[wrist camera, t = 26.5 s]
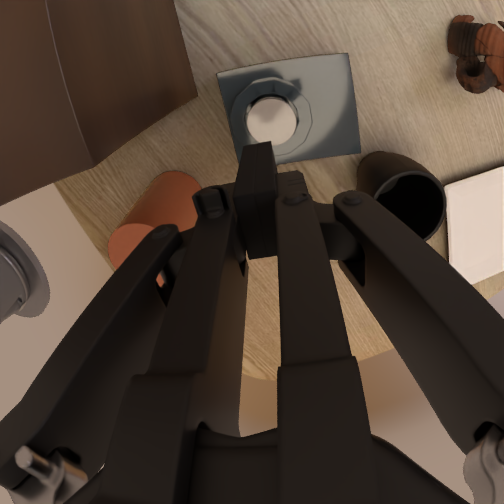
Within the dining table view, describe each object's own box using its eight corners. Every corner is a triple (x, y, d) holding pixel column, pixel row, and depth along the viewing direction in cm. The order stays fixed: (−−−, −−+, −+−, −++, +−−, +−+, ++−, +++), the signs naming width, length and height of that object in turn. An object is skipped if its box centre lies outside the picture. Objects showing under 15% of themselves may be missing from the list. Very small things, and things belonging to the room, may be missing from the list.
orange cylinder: (159, 227, 39) (126, 291, 29) (140, 178, 35) (95, 231, 25) (211, 218, 38) (191, 283, 28) (194, 164, 34) (164, 216, 24)
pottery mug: (462, -3, 20) (524, 14, 14) (480, 52, 26) (533, 73, 21) (423, 52, 23) (495, 76, 17) (446, 108, 29) (503, 137, 24)
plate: (444, 286, 43) (449, 295, 41) (437, 180, 33) (444, 187, 31) (528, 249, 38) (535, 256, 36) (535, 148, 28) (543, 153, 27)
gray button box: (243, 158, 34) (238, 179, 29) (221, 71, 28) (212, 74, 23) (351, 142, 32) (367, 159, 27) (338, 53, 26) (354, 52, 21)
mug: (350, 236, 39) (368, 285, 31) (341, 144, 32) (365, 175, 24) (409, 226, 37) (438, 272, 29) (409, 136, 31) (450, 166, 23)
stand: (76, 137, 32) (-55, 235, 14) (51, 52, 25) (-102, 96, 7) (198, 96, 30) (94, 167, 12) (172, -4, 23) (37, -61, 5)
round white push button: (253, 143, 27) (252, 149, 25) (243, 100, 25) (242, 104, 23) (297, 135, 26) (300, 141, 25) (290, 92, 24) (291, 95, 23)
